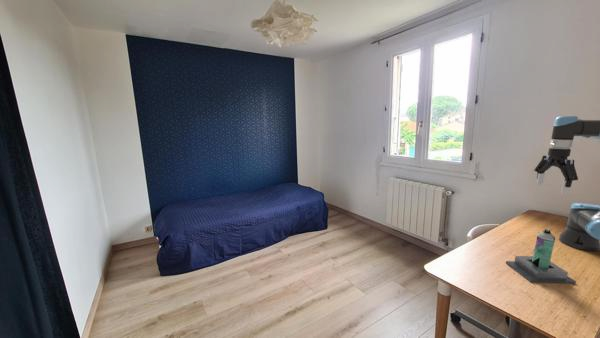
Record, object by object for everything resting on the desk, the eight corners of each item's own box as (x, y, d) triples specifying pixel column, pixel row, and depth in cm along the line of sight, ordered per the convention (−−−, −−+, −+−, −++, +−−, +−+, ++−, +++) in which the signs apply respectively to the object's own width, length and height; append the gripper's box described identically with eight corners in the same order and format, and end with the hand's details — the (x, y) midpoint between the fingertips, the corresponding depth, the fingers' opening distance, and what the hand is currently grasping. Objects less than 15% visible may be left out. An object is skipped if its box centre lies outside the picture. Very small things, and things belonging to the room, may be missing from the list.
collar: (545, 263, 117) (547, 255, 116) (575, 283, 103) (578, 274, 102) (505, 262, 118) (507, 254, 117) (530, 282, 104) (532, 272, 103)
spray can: (544, 268, 112) (552, 228, 107) (549, 275, 107) (559, 233, 102) (528, 265, 114) (536, 226, 110) (533, 272, 109) (542, 231, 105)
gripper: (530, 145, 133) (523, 182, 137) (578, 151, 108) (567, 196, 113) (544, 144, 132) (537, 182, 137) (596, 151, 108) (585, 197, 112)
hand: (551, 189), depth 125 cm, fingers open, 13 cm apart
